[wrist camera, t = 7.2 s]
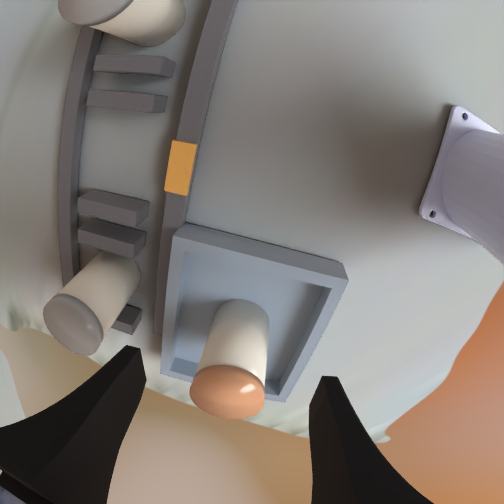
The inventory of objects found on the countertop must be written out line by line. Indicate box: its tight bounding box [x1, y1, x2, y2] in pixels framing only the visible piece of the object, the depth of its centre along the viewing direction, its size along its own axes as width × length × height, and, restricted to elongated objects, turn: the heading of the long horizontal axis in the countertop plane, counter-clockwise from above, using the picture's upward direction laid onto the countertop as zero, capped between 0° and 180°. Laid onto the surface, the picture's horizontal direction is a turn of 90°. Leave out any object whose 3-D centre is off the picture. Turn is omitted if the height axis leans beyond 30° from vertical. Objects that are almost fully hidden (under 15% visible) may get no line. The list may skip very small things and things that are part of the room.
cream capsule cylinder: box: [58, 0, 186, 46], centre depth 10 cm, size 4×4×7 cm
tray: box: [160, 223, 349, 402], centre depth 21 cm, size 11×13×2 cm
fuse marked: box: [190, 299, 269, 419], centre depth 18 cm, size 4×4×7 cm
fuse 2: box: [43, 250, 140, 356], centre depth 18 cm, size 4×4×7 cm
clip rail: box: [58, 0, 238, 336], centre depth 16 cm, size 10×26×2 cm, turn 166°
